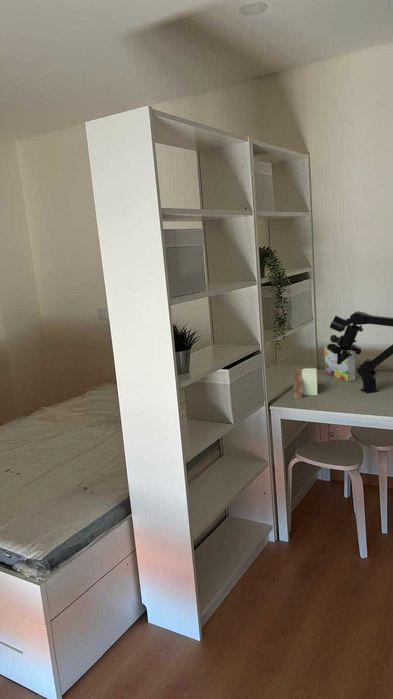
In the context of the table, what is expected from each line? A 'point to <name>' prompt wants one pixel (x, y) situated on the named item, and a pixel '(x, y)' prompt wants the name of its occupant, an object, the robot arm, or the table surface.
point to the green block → (309, 381)
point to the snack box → (340, 366)
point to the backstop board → (298, 384)
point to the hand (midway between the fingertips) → (338, 364)
